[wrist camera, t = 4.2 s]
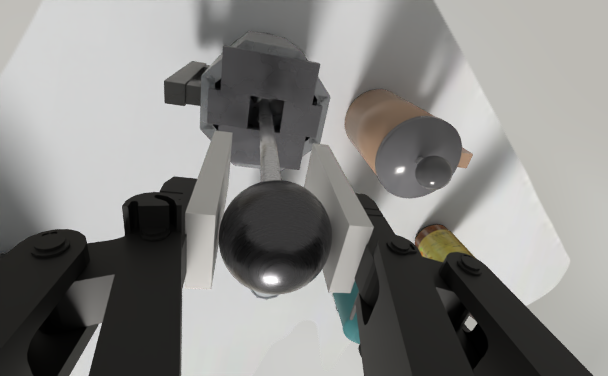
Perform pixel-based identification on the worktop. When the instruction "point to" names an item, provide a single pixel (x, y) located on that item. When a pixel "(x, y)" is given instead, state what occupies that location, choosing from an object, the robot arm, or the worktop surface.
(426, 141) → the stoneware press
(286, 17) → the worktop surface
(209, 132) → the steel carafe
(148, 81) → the worktop surface
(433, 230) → the sauce bottle
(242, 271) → the plunger
